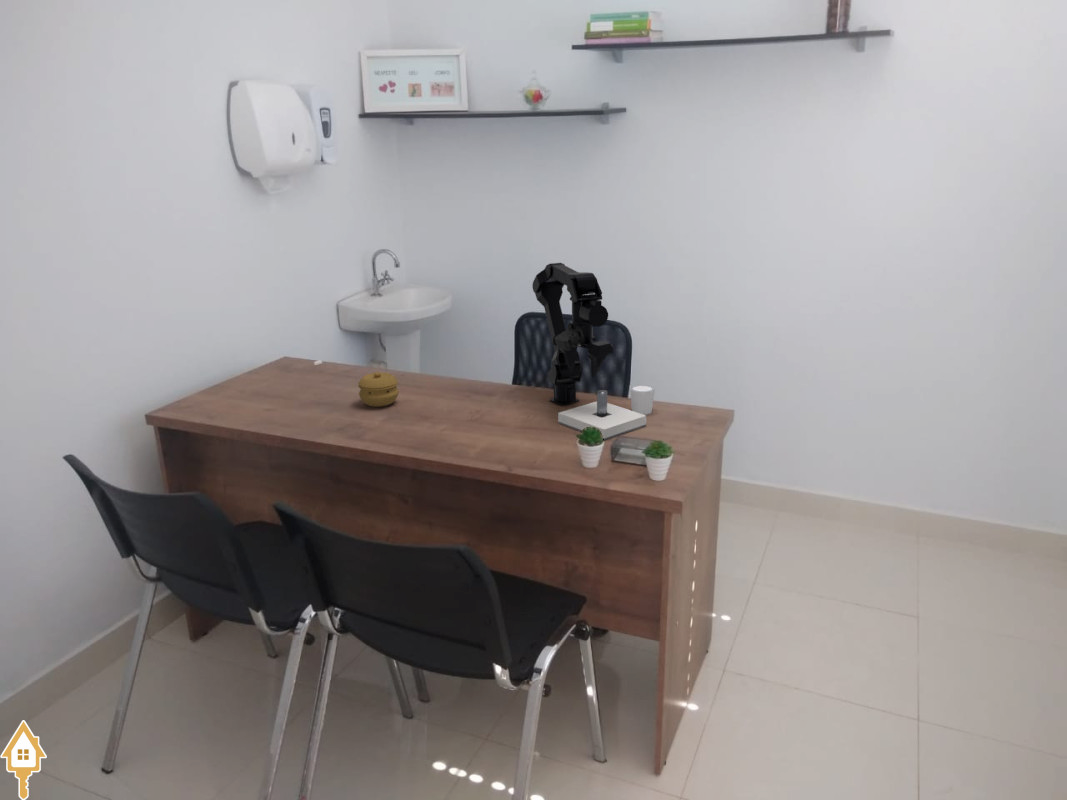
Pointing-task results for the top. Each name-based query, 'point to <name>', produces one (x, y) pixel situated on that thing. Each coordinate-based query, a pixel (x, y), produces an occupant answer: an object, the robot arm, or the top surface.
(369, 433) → the top surface
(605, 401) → the steel pin
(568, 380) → the robot arm
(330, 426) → the top surface
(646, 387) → the white cup
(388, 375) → the pot
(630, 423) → the bore board
